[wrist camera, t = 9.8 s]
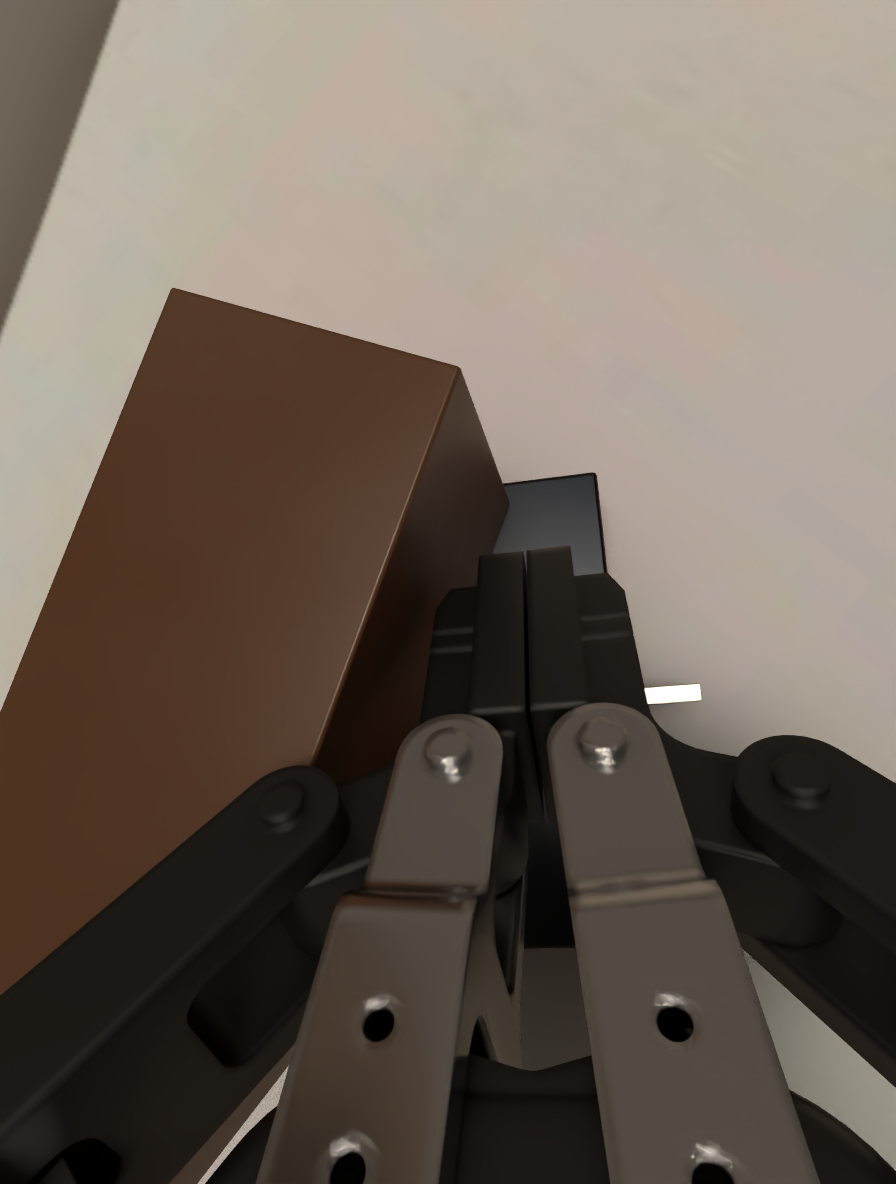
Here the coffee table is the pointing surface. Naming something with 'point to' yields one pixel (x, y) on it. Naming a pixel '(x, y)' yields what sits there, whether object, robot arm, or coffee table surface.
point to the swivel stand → (574, 519)
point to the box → (233, 606)
